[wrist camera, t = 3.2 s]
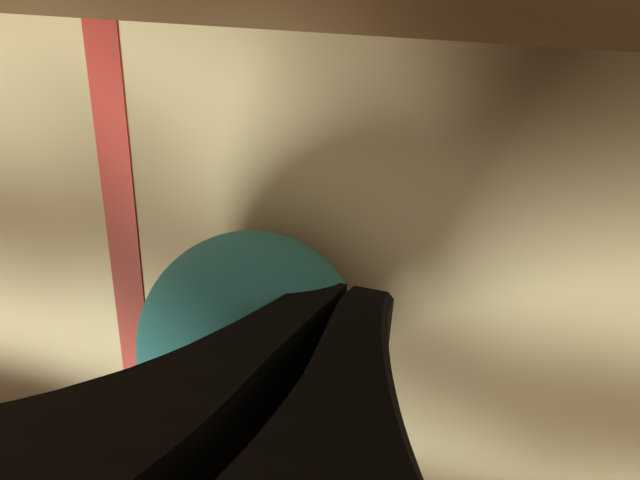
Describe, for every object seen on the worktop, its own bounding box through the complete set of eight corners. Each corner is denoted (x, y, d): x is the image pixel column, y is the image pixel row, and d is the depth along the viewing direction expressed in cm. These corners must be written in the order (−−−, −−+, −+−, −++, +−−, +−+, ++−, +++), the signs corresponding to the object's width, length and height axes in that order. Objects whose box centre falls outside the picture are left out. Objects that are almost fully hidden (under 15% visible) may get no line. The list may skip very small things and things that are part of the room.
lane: (815, 637, 12) (898, 810, 10) (-137, 366, 20) (-238, 423, 17) (1215, -13, 7) (1619, -19, 5) (-282, -54, 14) (-458, -67, 12)
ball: (388, 473, 10) (167, 546, 8) (293, 359, 14) (117, 394, 12) (425, 270, 9) (172, 303, 7) (309, 198, 12) (114, 207, 10)
